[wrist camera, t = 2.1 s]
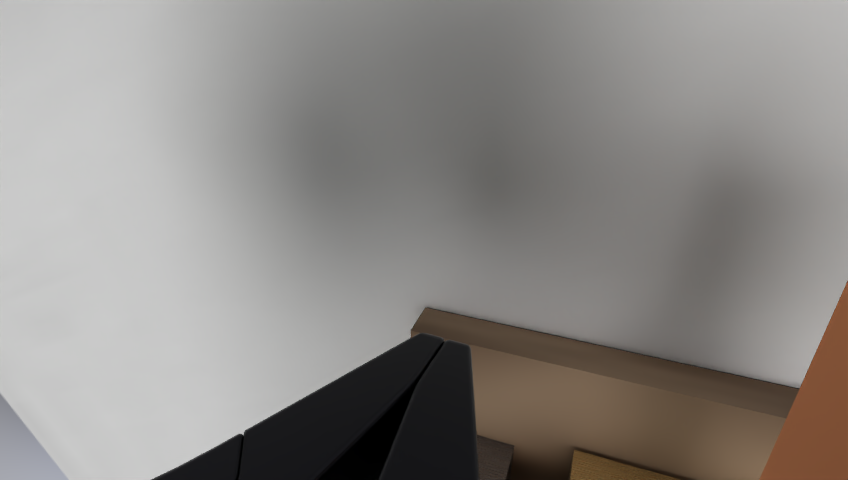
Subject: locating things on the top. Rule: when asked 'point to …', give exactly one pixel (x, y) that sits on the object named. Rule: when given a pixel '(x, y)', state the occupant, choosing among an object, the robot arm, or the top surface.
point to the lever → (818, 413)
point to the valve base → (608, 409)
